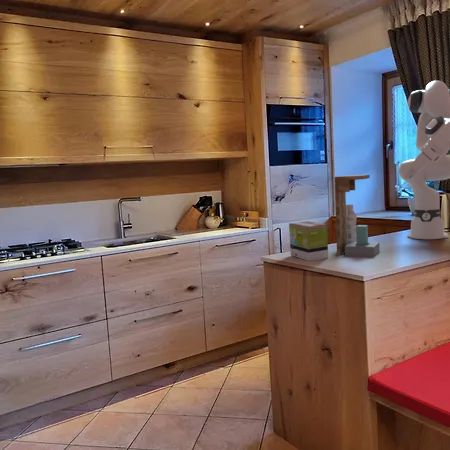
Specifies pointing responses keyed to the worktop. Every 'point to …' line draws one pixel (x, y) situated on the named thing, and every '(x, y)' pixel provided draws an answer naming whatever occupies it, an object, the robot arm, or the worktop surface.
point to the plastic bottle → (351, 224)
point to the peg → (362, 234)
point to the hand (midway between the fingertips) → (406, 177)
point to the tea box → (308, 240)
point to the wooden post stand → (343, 207)
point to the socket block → (362, 249)
